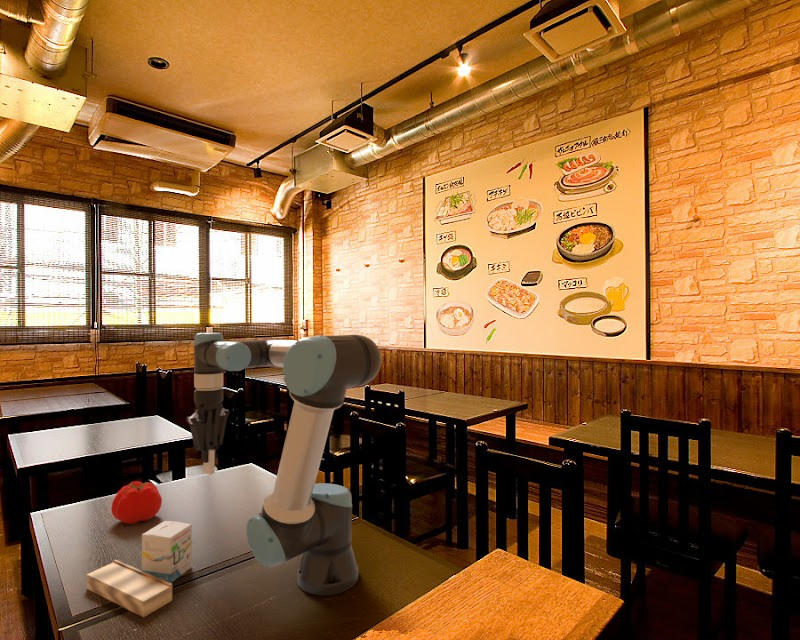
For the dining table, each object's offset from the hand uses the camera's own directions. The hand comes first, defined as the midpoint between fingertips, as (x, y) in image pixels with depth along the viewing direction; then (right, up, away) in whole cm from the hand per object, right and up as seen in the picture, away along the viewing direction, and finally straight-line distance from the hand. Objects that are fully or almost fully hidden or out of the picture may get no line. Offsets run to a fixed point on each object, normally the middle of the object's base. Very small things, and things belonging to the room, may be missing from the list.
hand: (208, 472), depth 131 cm
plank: (-11, -23, -19) cm, 32 cm away
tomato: (-31, -22, +21) cm, 44 cm away
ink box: (-7, -23, -10) cm, 26 cm away
